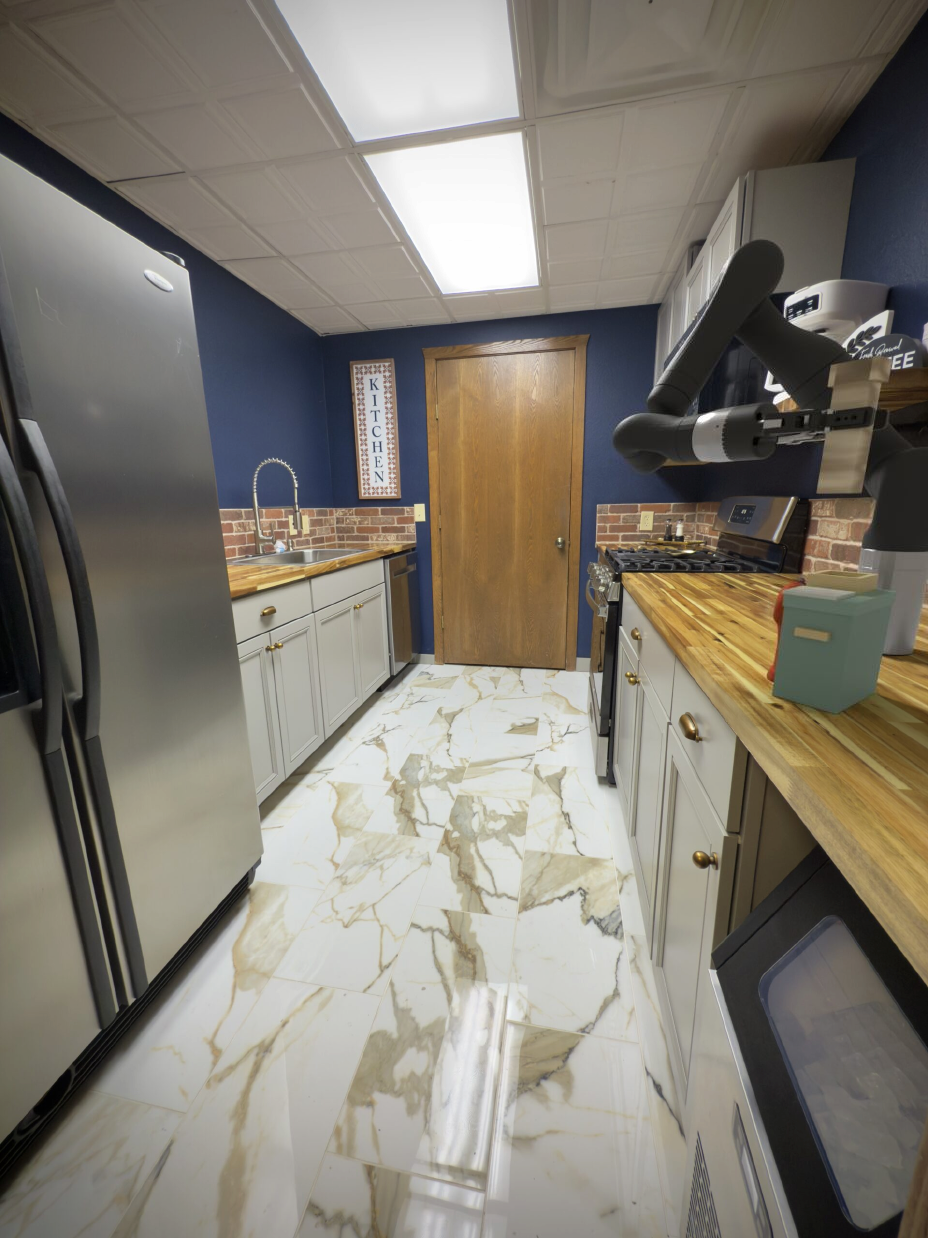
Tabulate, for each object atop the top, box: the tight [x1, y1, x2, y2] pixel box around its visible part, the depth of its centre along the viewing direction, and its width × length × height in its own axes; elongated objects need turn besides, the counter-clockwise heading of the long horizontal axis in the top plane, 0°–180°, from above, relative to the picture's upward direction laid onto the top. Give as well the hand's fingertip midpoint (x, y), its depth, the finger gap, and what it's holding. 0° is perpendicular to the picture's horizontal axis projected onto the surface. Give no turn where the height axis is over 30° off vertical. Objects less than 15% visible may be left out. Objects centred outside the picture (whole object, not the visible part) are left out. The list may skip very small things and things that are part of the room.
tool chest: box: [771, 569, 896, 715], centre depth 65 cm, size 14×8×16 cm, turn 123°
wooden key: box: [816, 355, 893, 494], centre depth 60 cm, size 4×5×15 cm
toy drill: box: [766, 576, 806, 684], centre depth 75 cm, size 5×19×15 cm, turn 142°
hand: (879, 417), depth 57 cm, fingers closed on wooden key, 3 cm apart
